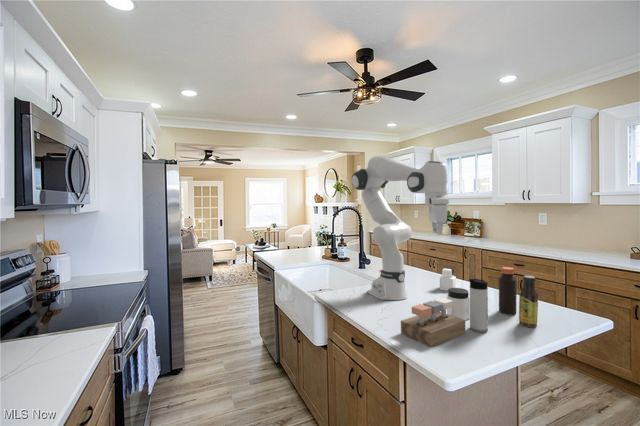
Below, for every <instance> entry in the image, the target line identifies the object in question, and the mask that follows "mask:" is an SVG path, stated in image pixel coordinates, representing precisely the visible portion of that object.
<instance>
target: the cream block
mask: <svg viewBox="0 0 640 426" xmlns="http://www.w3.org/2000/svg"><path fill="white" fill-rule="evenodd" d="M433 301H434V302H437V303H440V304H443V311H440V312H441V318H444V319H445V318H446V314H447V309H449V308H452V307H453V301H452V300H448V299H447V298H444V297H439V298H437V299H433Z"/></svg>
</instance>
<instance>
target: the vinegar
mask: <svg viewBox="0 0 640 426" xmlns="http://www.w3.org/2000/svg"><path fill="white" fill-rule="evenodd" d="M500 271H501V272H500V273H501V276H500V277H499V278H498V311H499V313H500V314H504V315H509V316H514V315H516V314H517V279H516V278H515V277H514V274H515V269H514V267H509V266H503V267H501V268H500Z"/></svg>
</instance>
